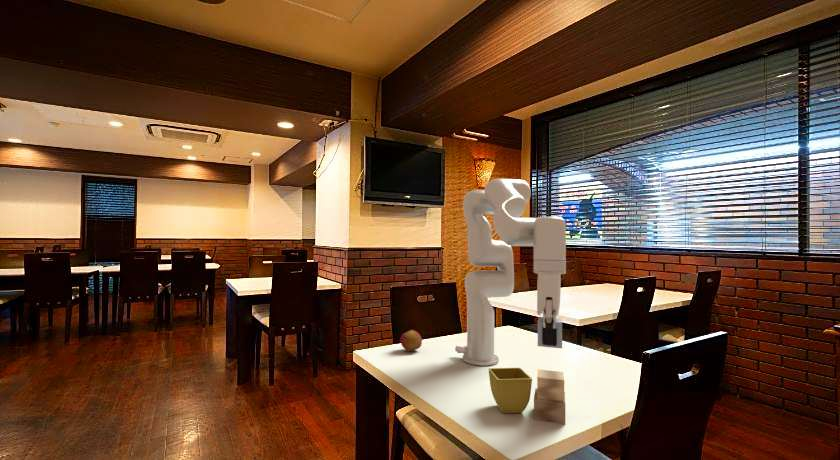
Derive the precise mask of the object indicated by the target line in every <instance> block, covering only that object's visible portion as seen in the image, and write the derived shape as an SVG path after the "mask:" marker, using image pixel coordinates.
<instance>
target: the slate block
mask: <svg viewBox="0 0 840 460" xmlns="http://www.w3.org/2000/svg"><path fill="white" fill-rule="evenodd" d="M542 327H543V316H538V318H537V347H540V348H541V347H542V348H553V349H563V319H562V318H559V317H556V318H555V328H557V345H556V346H550V345H543V344H542Z"/></svg>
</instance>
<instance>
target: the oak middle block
mask: <svg viewBox="0 0 840 460" xmlns="http://www.w3.org/2000/svg"><path fill="white" fill-rule="evenodd" d="M536 378H537V380H536V381H537V384H536V385H537V386H536V387H537V399H545V400H553V401H560V402H564V392H565V377H564V372H563V371H555V370H547V369H546V370H545V369H538V368H537V376H536Z"/></svg>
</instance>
